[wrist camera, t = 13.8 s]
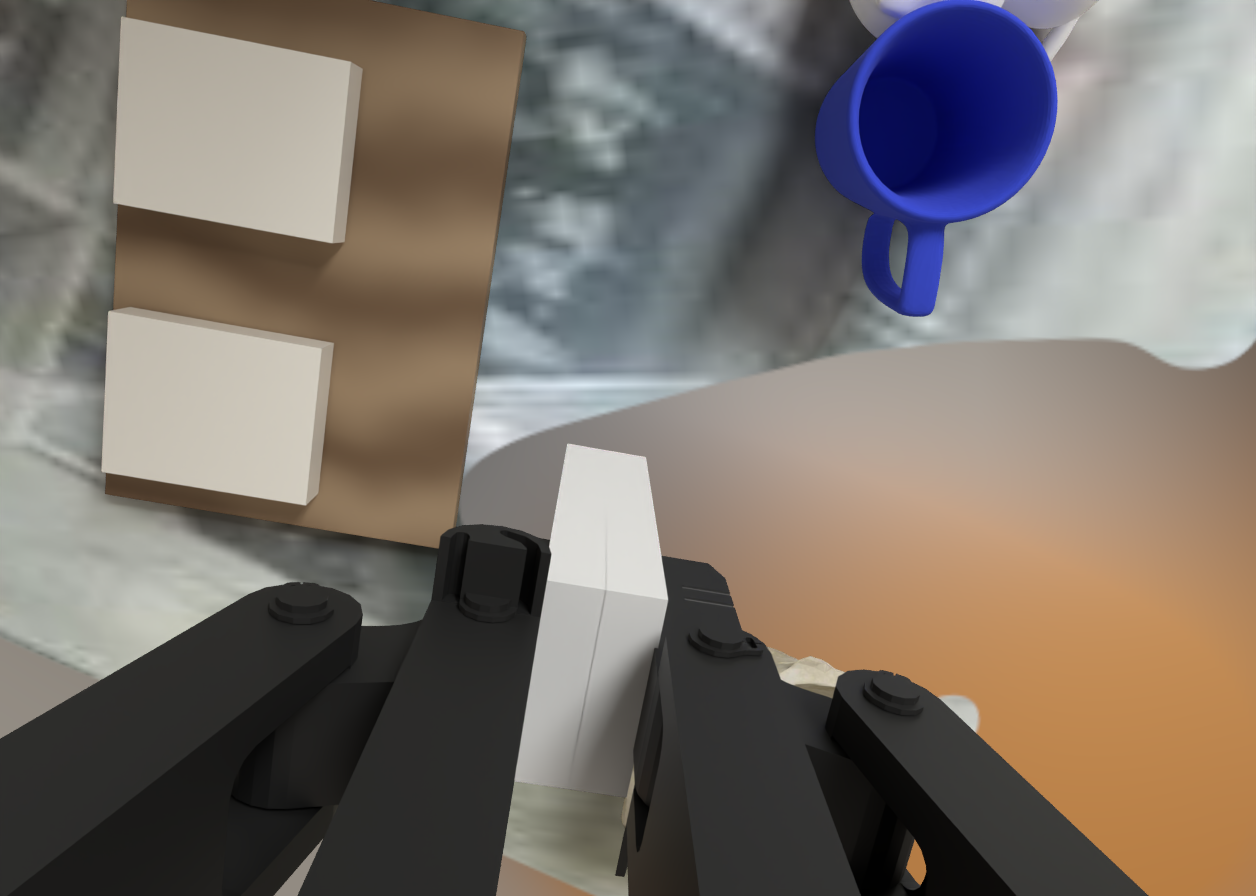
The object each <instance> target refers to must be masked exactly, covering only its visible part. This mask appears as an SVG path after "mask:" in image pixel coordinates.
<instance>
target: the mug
mask: <svg viewBox="0 0 1256 896" xmlns="http://www.w3.org/2000/svg"><path fill="white" fill-rule="evenodd" d="M1056 115H1057V87H1056V80H1055V76H1054V72H1053V68H1052V65H1051V62H1050V59H1049V57H1048V55H1047V53H1046V51H1045V49H1044V47H1043V45H1042V44H1041V42H1040V41H1039V39H1038V38H1037V37H1036V35H1035V34H1034V33H1033V31H1032V30H1031V29H1030V28H1029V27H1028V26H1027V25H1026V24H1025V23H1024V22H1022V21H1021V20H1020V19H1019V18H1018V17H1016V16H1015V15H1013V14H1012V13H1010V12H1008V11H1006V10H1004V9H1002V8H1000V7H998V6H996V5H993V4H990V3H986V2H982V1H977V0H944V1H940V2H935V3H931V4H929V5H926V6H923V7H921V8H918V9H916V10H914V11H912V12H910V13H908V14H907V15H905V16H903V17H902V18H900V19H899V20H897V21H896V22H895V23H893V24H892V25H891V26H890V27H889V28H887V29H886V30H885V31H884V32H883V33H882V34H881V35H880V36H879V37H878V38H877V39H876V40H875V41H874V43H873V44H872V45H871V46H870V47H869V48H868V49H867V50H866V51H865V52H864V53H863V54H862V55H861V56H860V57H859V58H858V59H857V60H856V61H855V62H854V63H853V64H852V65H851V66H850V67H849V69H848V70H847V71H846V72H845V73H844V74H843V75H842V76H841V77H840V78H839V79H838V80H837V81H836V82H835V84H834V85H833V86H832V88H831V89H830V90H829V92H828V94H827V95H826V97H825V99H824V101H823V103H822V105H821V108H820V111H819V114H818V117H817V122H816V129H815V147H816V153H817V157H818V160H819V164H820V166H821V168H822V171H823V173H824V174H825V176H826V178H827V179H828V181H829V182H830V183H831V185H832V186H833V187H834V188H835V189H836V190H837V191H838V192H839V193H841V194H842V195H843V196H844V197H846V198H848V199H849V200H851V201H853V202H855V203H857V204H859V205H861V206H863V207H865V208H867V209H869V210H871V211H872V212H874V214H872V215H871V216H870V218H869V220H868V222H867V225H866V229H865V234H864V240H863V248H862V271H863V276H864V280H865V282H866V285H867V286H868V288H869V290H870V291H871V292H872V294H873V295H874V296H875V297H876V298H877V299H878V300H880V301H881V302H882V303H883V304H885V305H886V306H888V307H889V308H891V309H893V310H894V311H896V312H897V313H899V314H902V315H906V316H913V317H923V316H927V315H929V314H931V312H932V311H933V309H934V306H935V301H936V296H937V291H938V286H939V279H940V272H941V266H942V258H943V247H944V229H945V226H946V225H947V224H948V223H954V222H960V221H965V220H969V219H973V218H976V217H978V216H981V215H983V214H986V213H988V212H990V211H992V210H994V209H995V208H997V207H999V206H1000V205H1002V204H1003V203H1005V202H1006V201H1007V200H1009V199H1010V198H1011V197H1013V196H1014V195H1015V194H1016V193H1017V192H1018V191H1019V190H1020V189H1021V188H1022V187H1023V186H1024V185H1025V184H1026V183H1027V182H1028V180H1029V179H1030V178H1031V177H1032V175H1033V174H1034V173H1035V171H1036V170H1037V168H1038V166H1039V165H1040V163H1041V161H1042V159H1043V158H1044V156H1045V154H1046V151H1047V149H1048V147H1049V144H1050V142H1051V138H1052V135H1053V132H1054V127H1055V122H1056ZM896 219H897V220H899V221H901V222H902V223H903V224H904V225H905V226H906V228H907V231H908V248H907V256H906V263H905V269H904V276H903V282H902V288H899V287H898V286H897V284H896V283H895V281H894V280H893V278H892V275H891V272H890V267H889V246H890V238H891V233H892V227H893V224H894V221H895V220H896Z"/></svg>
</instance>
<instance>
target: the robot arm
mask: <svg viewBox="0 0 1256 896" xmlns="http://www.w3.org/2000/svg"><path fill="white" fill-rule="evenodd" d="M733 606H734V604H733V601H732V598H731V596H730V592H729V589H728V586H727V582H726V579H725V578H724V577H723V576H722V575H721V574H720V573H718V572H717V571H716V570H715V569H714V568H713V567H712V566H711V565H709V564H708V563H702V562H695V561H689V560H684V559H677V558H671V557H666V556H661V551H660V545H659V538H658V532H657V526H656V520H655V513H654V507H653V501H652V494H651V487H650V481H649V475H648V468H647V463H646V457H642V456H636V455H631V454H625V453H619V452H613V451H607V450H602V449H596V448H590V447H584V446H578V445H573V444H567V449H566V455H565V461H564V466H563V472H562V478H561V483H560V489H559V494H558V500H557V506H556V511H555V517H554V523H553V528H552V534H551V539H550V540H547V539H541V538H538V537H535V536H533V535H531V534H528V533H526V532H523V531H520V530H516V529H511V528H507V527H503V526H494V525H483V524H480V525H462V526H459V527H455V528H451V529H448V530H447V531H446V532H445V533H443V534H442V535H441V536H440V543H439V550H438V557H437V564H436V571H435V578H434V585H433V593H432V600H431V602H430V604H429V607H428V609H427V611H426V613H425V615H424V618H423V620H420V621H417V622H413V623H408V624H403V625H392V626H361V625H362V616H363V613H362V609H361V604H360V603H358V602H357V601H356V600H355V599H354V598H353V597H351V596H350V595H348V594H346V593H343V592H341V591H338V590H335V589H333V588H328V587H322V586H319V585H318V584H315V583H306V582H303V584H300V582H290V583H286V584H285V585H279V586H272V587H266V588H263V589H261V590H258V591H256V592H253V593H250V594H248V595H246V596H245V597H243V598H241V599H239V600H238V601H236V602H234V603H233V604H231V605H229V606H227V607H226V608H224V609H222V610H221V611H219V612H217V613H215V614H214V615H212V616H210V617H209V618H207V619H205V620H203V621H202V622H200V623H198V624H196V625H195V626H193V627H191V628H190V629H188V630H186V631H184V632H183V633H181V634H179V635H178V636H176V637H174V638H172V639H171V640H169V641H167V642H166V643H164V644H162V645H160V646H159V647H157V648H155V649H154V650H152V651H150V652H148V653H147V654H145V655H143V656H142V657H140V658H138V659H136V660H135V661H133V662H131V663H130V664H128V665H126V666H124V667H123V668H121V669H119V670H117V671H116V672H114V673H112V674H111V675H109V676H107V677H105V678H104V679H102V680H100V681H99V682H97V683H95V684H93V685H92V686H90V687H88V688H87V689H85V690H83V691H81V692H80V693H78V694H76V695H75V696H73V697H71V698H69V699H68V700H66V701H64V702H63V703H61V704H59V705H57V706H56V707H54V708H52V709H51V710H49V711H47V712H46V713H44V714H42V715H40V716H39V717H37V718H35V719H34V720H32V721H30V722H28V723H27V724H25V725H23V726H21V727H20V728H18V729H16V730H14V731H13V732H11V733H9V734H8V735H6V736H4V737H2V738H1V739H0V896H274V895H275V893H276V892H277V891H278V890H279V889H280V887H281V886H282V885H283V884H284V883H285V882H286V881H287V880H288V878H289V877H290V876H291V875H292V874H293V873H294V871H295V870H296V869H297V868H298V867H299V866H300V865H301V863H302V862H303V861H304V860H305V859H306V858H307V856H308V855H309V854H310V853H311V852H312V851H313V850H314V848H315V847H316V846H317V845H318V844H319V842H320V841H321V840H322V839H323V841H322V843H321V845H320V847H319V850H318V852H317V854H316V856H315V858H314V861H313V863H312V865H311V867H310V869H309V872H308V874H307V876H306V878H305V880H304V883H303V885H302V887H301V889H300V891H299V894H298V896H496V892H497V885H498V879H499V873H500V867H501V860H502V854H503V848H504V842H505V836H506V829H507V823H508V817H509V811H510V805H511V798H512V792H513V786H514V781H516V782H523V783H529V784H536V785H543V786H550V787H557V788H563V789H570V790H577V791H584V792H591V793H597V794H604V795H611V796H618V797H625V798H627V794H628V789H629V784H630V780H631V775H632V770H633V765H634V781H635V784H634V789H633V794H632V799H631V803H630V808H629V813H628V817H627V822H626V827H625V832H624V836H623V841H622V846H621V851H620V855H619V860H618V865H617V870H616V874H615V876H622V877H624V876H625V873H626V870H627V867H628V893H629V896H1148V895H1147V894H1146V893H1145V892H1144V891H1143V890H1142V889H1141V888H1140V887H1139V886H1138V885H1137V884H1135V883H1134V882H1133V881H1132V880H1131V879H1130V878H1129V877H1128V876H1127V875H1126V874H1125V873H1124V872H1123V871H1122V870H1121V869H1120V868H1119V867H1117V866H1116V865H1115V864H1114V863H1113V862H1112V861H1111V860H1110V859H1109V858H1108V857H1107V856H1106V855H1105V854H1104V853H1103V852H1102V851H1101V850H1099V849H1098V848H1097V847H1096V846H1095V845H1094V844H1093V843H1092V842H1091V841H1090V840H1089V839H1088V838H1087V837H1085V835H1084V834H1083V833H1081V832H1080V831H1079V830H1078V829H1077V828H1076V827H1075V826H1074V825H1073V824H1072V823H1071V822H1070V821H1069V820H1067V818H1066V817H1064V816H1063V815H1062V814H1061V813H1060V812H1059V811H1058V810H1057V809H1056V808H1055V807H1054V806H1053V805H1052V804H1051V803H1050V802H1049V801H1047V800H1046V799H1045V798H1044V797H1043V796H1042V795H1041V794H1040V793H1039V792H1038V791H1037V790H1036V789H1035V788H1034V787H1033V786H1031V784H1029V783H1028V782H1027V781H1026V780H1025V779H1024V778H1023V777H1022V776H1021V775H1020V774H1019V773H1018V772H1017V771H1016V770H1015V769H1013V768H1012V767H1011V766H1010V765H1009V764H1008V763H1007V762H1006V761H1005V760H1004V759H1003V758H1002V757H1001V756H1000V755H999V754H998V753H996V751H994V750H993V749H992V748H991V747H990V746H989V745H988V744H987V743H986V742H985V741H984V740H983V739H982V738H981V737H980V736H979V735H977V734H976V733H975V732H974V731H973V730H972V729H971V728H970V727H969V726H968V725H967V724H966V723H965V722H964V721H963V720H962V719H961V718H959V717H958V716H957V715H956V714H955V713H954V712H953V711H952V710H951V709H950V708H949V707H948V706H947V705H946V704H945V703H944V702H942V701H941V700H940V699H939V698H937V697H936V696H935V695H933V694H932V693H931V692H929V691H928V690H927V689H925V688H923V687H921V686H919V685H917V684H915V683H912V682H911V681H910V679H908V678H906V677H904V676H901V675H898V674H896V676H894V675H893V673H892V672H888V671H883V670H880V671H871V670H854V671H847V672H845V673H843V674H842V675H840V676H838V679H837V682H836V686H835V690H834V694H833V697H832V698H830V697H827V696H824V695H821V694H818V693H814V692H811V691H808V690H805V689H802V688H800V687H797V686H794V685H792V684H789V683H787V682H785V681H783V680H781V678H780V675H779V673H778V670H777V667H776V665H775V662H774V659H773V656H772V654H771V652H770V651H769V649H768V648H767V647H766V645H765V644H764V643H763V642H761V641H760V640H758V638H756V637H754V636H753V635H751V634H749V633H747V632H745V631H742V629H741V626H740V623H739V620H738V617H737V613H736V610H735V608H733ZM914 840H916V842H917V843H918V845H919V847H920V849H921V850H922V854H923V857H924V860H925V864H926V875H925V878H924V880H923V882H922V884H921V886H920V885H919V884H918V883H917V882H916V881H915V880H914V878H913V877H912V876H911V874H910V873H909V872H908V870H907V869H906V866H907V862H908V860H909V856H910V853H911V850H912V846H913V843H914Z"/></svg>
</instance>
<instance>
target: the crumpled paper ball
mask: <svg viewBox="0 0 1256 896" xmlns="http://www.w3.org/2000/svg"><path fill="white" fill-rule="evenodd" d="M849 1H850V3H851V6H852V8H853V10H854V12H855V14H856V15H857V17H858V18H859V20H860V21H861V23H862V24H863V25H864V26H865V27H866V29H867V30H868V31H869V32H870V33H871V34H872V35H873V36H875V37H876V38H878V37H879V36H880V35H881V34H882V33H883V32H884V31H885V30H886V29H887V28H889V27H890V26H891V25H892V24H893V23H895V22H896V21H897V20H899V19H900V18H902V17H903V16H905V15H907V14H908V13H910V12H912V11H914V10H916V9H918V8H921V7H923V6H926V5H929V4H931V3H935V2H940V1H944V0H849ZM977 1H982V2H986V3H990V4H993V5H996V6H998V7H1000V8H1002V9H1004V10H1006V11H1008V12H1010V13H1012V14H1013V15H1015V16H1016V17H1018V18H1019V19H1020V20H1021V21H1022V22H1024V23H1025V24H1026V25H1027V26H1028V27H1030V28H1036V29H1047V28H1052V30H1051V31H1050V32H1049V34H1048V35H1047V37H1046V38H1045V39H1044V41H1043V42H1042V43H1041V44H1042V45H1043V47H1044V49H1045V51H1046V53H1047V55H1048V57H1049V59H1050V62H1051V60H1052V59H1053V58H1054V56H1055V55H1056V53H1057V52H1058V51H1059V49H1060V48H1061V46H1062V45H1063V44H1064V42H1065V41H1066V39H1067V37H1068V36H1069V34H1070V32H1071V31H1072V29H1073V27H1074V25H1075V24H1076V22H1077V20H1078V18H1079V17H1080V16H1081V15H1082V14H1083V13H1085V12H1086V11H1087V10H1089V9H1090V8H1091V7H1092V6H1093V5H1094V4H1095V3H1096V2H1097V1H1098V0H977Z"/></svg>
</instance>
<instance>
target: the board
mask: <svg viewBox="0 0 1256 896" xmlns="http://www.w3.org/2000/svg"><path fill="white" fill-rule="evenodd" d="M126 17H127V18H132V19H137V20H142V21H147V22H152V23H157V24H162V25H167V26H172V27H177V28H182V29H187V30H193V31H198V32H203V33H208V34H213V35H218V36H223V37H228V38H233V39H238V40H243V41H248V42H253V43H258V44H263V45H269V46H274V47H279V48H284V49H289V50H294V51H299V52H304V53H309V54H314V55H319V56H324V57H329V58H334V59H340V60H345V61H350V62H352V63H354V64H355V65H357V66H359V67H360V68H362V69H363V71H362V80H361V90H360V99H359V109H358V118H357V128H356V138H355V147H354V157H353V166H352V176H351V185H350V195H349V205H348V214H347V224H346V233H345V242H341V243H328V242H322V241H317V240H311V239H306V238H301V237H295V236H290V235H284V234H279V233H273V232H268V231H262V230H257V229H252V228H246V227H241V226H235V225H230V224H224V223H219V222H214V221H208V220H203V219H197V218H192V217H186V216H181V215H175V214H170V213H165V212H159V211H154V210H148V209H143V208H137V207H132V206H127V205H121V204H118V214H117V237H116V259H115V282H114V305H113V310H117V309H122V308H127V307H133V308H139V309H145V310H150V311H156V312H161V313H167V314H173V315H178V316H184V317H190V318H195V319H201V320H207V321H212V322H218V323H224V324H229V325H235V326H241V327H246V328H252V329H258V330H263V331H269V332H275V333H280V334H286V335H292V336H297V337H303V338H309V339H314V340H320V341H326V342H331V343H334V347H333V357H332V366H331V376H330V386H329V395H328V405H327V414H326V424H325V433H324V443H323V453H322V462H321V472H320V481H319V491H318V494H317V495H316V496H315V497H314V498H313V499H312V500H311V501H310V502H309V503H308V504H307V505H300V504H294V503H288V502H282V501H276V500H270V499H263V498H257V497H251V496H245V495H239V494H233V493H227V492H221V491H215V490H209V489H203V488H197V487H191V486H185V485H178V484H172V483H166V482H160V481H154V480H148V479H142V478H136V477H130V476H124V475H118V474H112V473H106V486H105V494H108V495H114V496H120V497H126V498H132V499H138V500H145V501H151V502H157V503H163V504H169V505H175V506H181V507H187V508H194V509H200V510H206V511H212V512H218V513H224V514H230V515H237V516H243V517H249V518H255V519H261V520H267V521H273V522H279V523H286V524H292V525H298V526H304V527H310V528H316V529H322V530H328V531H335V532H341V533H347V534H353V535H359V536H365V537H371V538H377V539H384V540H390V541H396V542H402V543H408V544H414V545H420V546H426V547H433V548H439V543H440V536H441V535H442V534H443V533H445V532H446V531H447V530H448V529H451V528H455V527H456V521H457V514H458V507H459V500H460V493H461V486H462V479H463V473H464V466H465V459H466V452H467V445H468V438H469V431H470V424H471V417H472V410H473V403H474V396H475V390H476V383H477V376H478V369H479V362H480V355H481V348H482V341H483V334H484V327H485V320H486V314H487V307H488V300H489V293H490V286H491V279H492V272H493V265H494V258H495V251H496V244H497V237H498V231H499V224H500V217H501V210H502V203H503V196H504V189H505V182H506V175H507V168H508V161H509V154H510V148H511V141H512V134H513V127H514V120H515V113H516V106H517V99H518V92H519V85H520V78H521V72H522V65H523V58H524V51H525V44H526V37H527V36H526V34H525V32H524V31H519V30H515V29H510V28H505V27H500V26H495V25H490V24H485V23H480V22H475V21H470V20H465V19H460V18H455V17H450V16H445V15H440V14H435V13H430V12H425V11H420V10H416V9H411V8H406V7H401V6H396V5H391V4H386V3H381V2H376V1H371V0H127V10H126Z"/></svg>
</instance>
